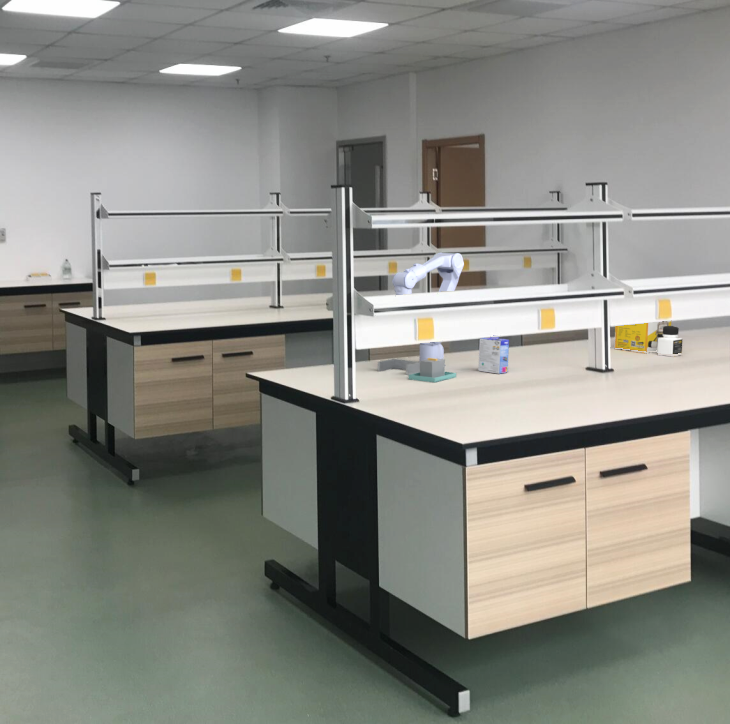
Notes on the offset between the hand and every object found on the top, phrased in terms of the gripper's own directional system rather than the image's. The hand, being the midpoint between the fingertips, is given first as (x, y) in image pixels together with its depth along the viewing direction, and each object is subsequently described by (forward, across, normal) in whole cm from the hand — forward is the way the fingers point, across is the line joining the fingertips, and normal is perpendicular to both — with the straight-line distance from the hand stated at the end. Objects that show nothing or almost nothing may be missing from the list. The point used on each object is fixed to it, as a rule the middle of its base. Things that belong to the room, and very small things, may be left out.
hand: (402, 343), depth 350 cm
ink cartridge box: (+10, +26, +21) cm, 35 cm away
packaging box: (+8, +47, +110) cm, 120 cm away
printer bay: (+10, -1, 0) cm, 10 cm away
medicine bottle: (+8, +62, +101) cm, 119 cm away
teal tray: (+10, +16, -4) cm, 20 cm away
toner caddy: (+10, +16, -4) cm, 20 cm away
